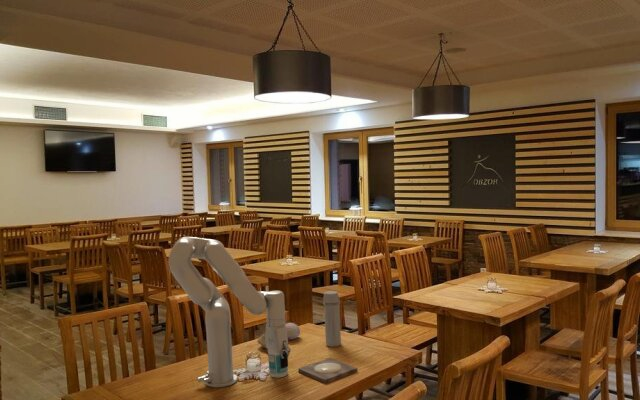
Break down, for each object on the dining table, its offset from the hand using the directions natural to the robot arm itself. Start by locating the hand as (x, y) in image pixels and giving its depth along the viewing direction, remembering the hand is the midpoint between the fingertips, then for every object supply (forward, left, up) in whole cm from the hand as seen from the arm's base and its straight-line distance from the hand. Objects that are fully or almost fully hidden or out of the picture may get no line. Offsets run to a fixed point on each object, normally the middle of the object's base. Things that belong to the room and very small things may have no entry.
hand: (278, 364), depth 209 cm
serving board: (+16, -12, -4) cm, 20 cm away
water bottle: (+39, +11, -5) cm, 41 cm away
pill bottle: (0, 0, -5) cm, 5 cm away
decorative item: (+32, +35, -5) cm, 48 cm away
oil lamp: (+17, +31, -5) cm, 36 cm away
